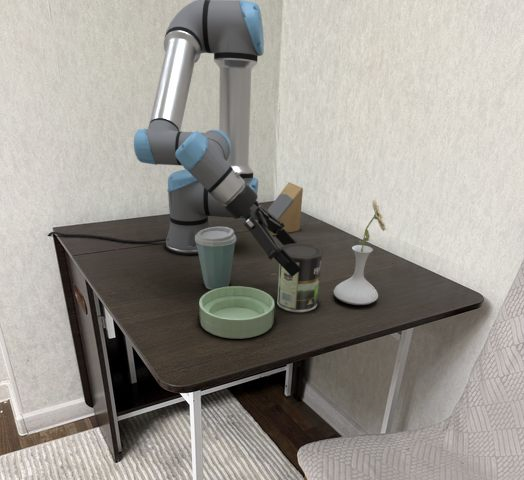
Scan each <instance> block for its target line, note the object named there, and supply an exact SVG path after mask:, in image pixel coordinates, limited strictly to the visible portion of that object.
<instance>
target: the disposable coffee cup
mask: <svg viewBox="0 0 524 480" xmlns="http://www.w3.org/2000/svg"><path fill="white" fill-rule="evenodd" d="M209 227H210V228H206V229H203V230H201V231H199V232H198V233H197V234H196V235H195V241H196V244H197V249H198V254H197V255H198V258H199V264H200V270H201V274H202V279H203V285H204V286H205V288H206V289H208V290H209V291H211V290H214V289H217V288H221V287H229V285H230V283H231V277H232V276H231V275H232V267H233V262H234V261H233V260H234V254H235V248H236V247H235V246H236V242H237V236H236V234H235V231H234V229H233V228H231V227H229V226H209Z"/></svg>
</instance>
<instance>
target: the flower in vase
mask: <svg viewBox="0 0 524 480" xmlns="http://www.w3.org/2000/svg"><path fill="white" fill-rule="evenodd" d="M371 204H372V208H373V211H374V215H373V217H372V218H371V219H370V221H369V222H368V224H367V225H366V226H365V227H366V228H365V229H364V233H363V238H362V239H361V240H359V241H358V243H361V244H356V245H353V246H352V247H351V250H352V251H353V254H354V256H355V258H354V259H355V264H354V266H355V267H354V272H353V274H352V275H351V277H349V278H347V279H345V280H343V281H341V282H340V283H338V284H337V285H336V286H335V287H334V289H333V295H334V296H335V298H336V299H337V300H338V301H341V302H342V303H344V304H348V305H353V306H366V305H370V304H373V303H375V302H376V301H377V300H378V298H379V293H378V291H377V289H376V288H375V287H374V286H373V285H372V284H371V282H369V281H368V280H367V279H366V278H365V275H364V273H365V272H364V271H365V265H366V263H367V259H368V258H369V256H370V254H371V253H373V251H374V249H373V248H372V247H371V246H368V245H365V243H366V242H368V241H370V237H371V236H370V231H369V230H368V228H369V227H370V225H371V224H372V222H373V221H374V220H376V221H377V223H378V225H379V227H380V229H381V231H383V232H384V231H387V228H386V223H385V222H384V221H383V218H384V217H383V214H382V213H381V212H380V207H379V205H378V204H377V200H376V199H372V201H371Z"/></svg>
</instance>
